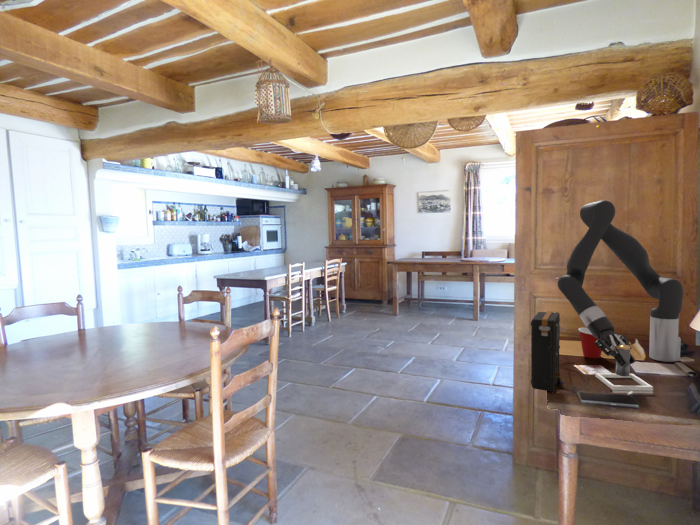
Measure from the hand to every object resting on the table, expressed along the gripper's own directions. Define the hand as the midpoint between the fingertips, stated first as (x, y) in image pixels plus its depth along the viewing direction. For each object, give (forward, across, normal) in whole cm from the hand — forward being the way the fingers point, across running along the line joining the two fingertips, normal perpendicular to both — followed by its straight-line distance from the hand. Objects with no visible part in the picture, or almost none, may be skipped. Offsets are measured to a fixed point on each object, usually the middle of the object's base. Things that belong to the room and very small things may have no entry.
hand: (628, 363), depth 141 cm
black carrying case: (-4, -21, +17) cm, 27 cm away
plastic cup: (-13, +18, +25) cm, 33 cm away
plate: (-5, +3, +17) cm, 18 cm away
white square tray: (+5, 0, +7) cm, 9 cm away
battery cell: (+2, 0, +4) cm, 5 cm away
